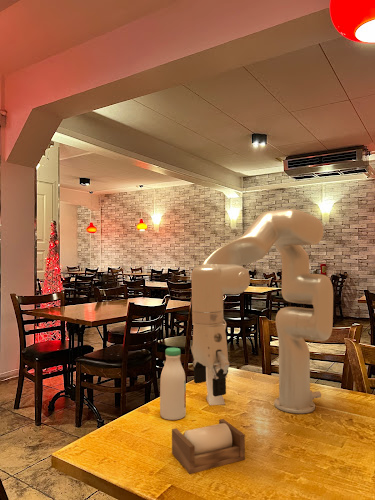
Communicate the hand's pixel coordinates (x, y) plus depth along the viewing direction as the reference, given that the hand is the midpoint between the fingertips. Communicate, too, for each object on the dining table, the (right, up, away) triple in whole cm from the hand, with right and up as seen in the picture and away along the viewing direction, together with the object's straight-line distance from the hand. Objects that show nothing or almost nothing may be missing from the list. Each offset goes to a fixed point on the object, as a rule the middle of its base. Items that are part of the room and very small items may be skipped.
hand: (209, 388), depth 94 cm
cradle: (0, -16, -1) cm, 16 cm away
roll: (0, -15, -1) cm, 15 cm away
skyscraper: (+4, -17, +34) cm, 39 cm away
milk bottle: (-10, -17, +24) cm, 30 cm away
